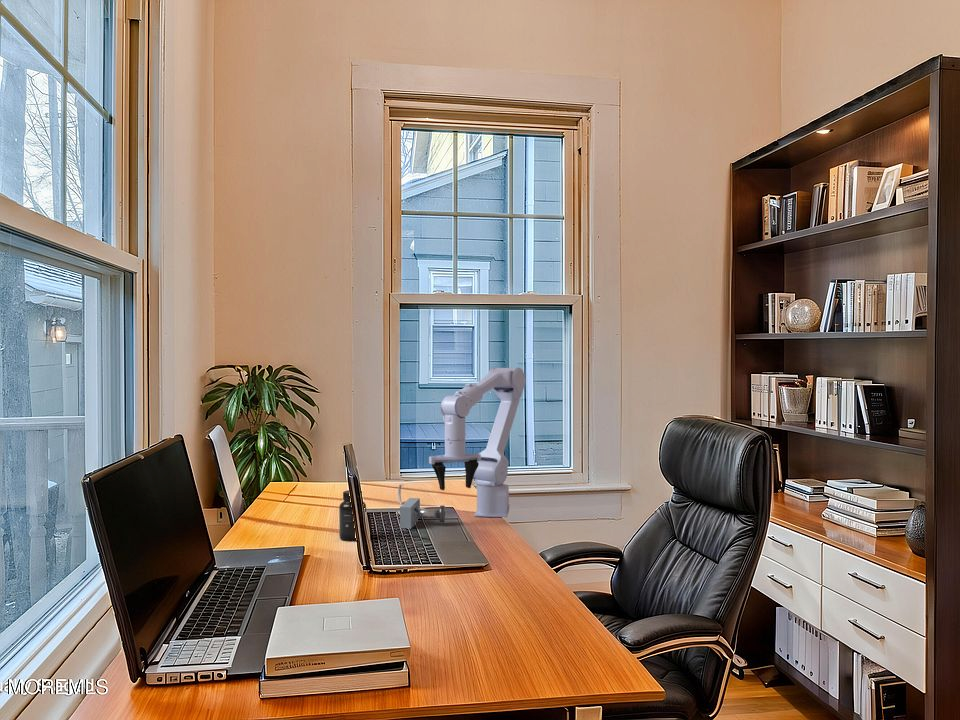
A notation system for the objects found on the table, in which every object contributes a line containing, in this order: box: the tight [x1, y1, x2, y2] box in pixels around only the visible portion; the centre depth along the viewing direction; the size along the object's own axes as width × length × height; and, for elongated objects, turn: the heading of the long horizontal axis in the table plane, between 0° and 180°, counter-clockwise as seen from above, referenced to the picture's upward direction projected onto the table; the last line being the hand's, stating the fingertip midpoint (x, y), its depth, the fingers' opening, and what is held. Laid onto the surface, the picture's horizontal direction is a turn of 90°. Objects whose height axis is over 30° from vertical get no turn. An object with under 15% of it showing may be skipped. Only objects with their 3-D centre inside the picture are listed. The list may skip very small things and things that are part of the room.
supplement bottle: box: [338, 489, 367, 542], centre depth 188 cm, size 7×7×12 cm
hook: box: [397, 483, 425, 514], centre depth 221 cm, size 7×9×20 cm
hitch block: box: [399, 497, 421, 530], centre depth 203 cm, size 3×12×6 cm, turn 173°
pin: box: [414, 505, 446, 523], centre depth 202 cm, size 9×5×5 cm, turn 83°
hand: (455, 488), depth 202 cm, fingers open, 7 cm apart
